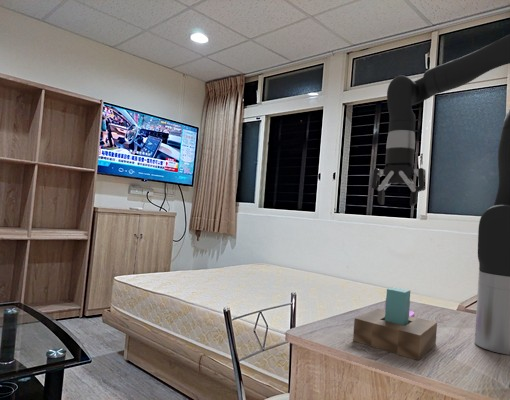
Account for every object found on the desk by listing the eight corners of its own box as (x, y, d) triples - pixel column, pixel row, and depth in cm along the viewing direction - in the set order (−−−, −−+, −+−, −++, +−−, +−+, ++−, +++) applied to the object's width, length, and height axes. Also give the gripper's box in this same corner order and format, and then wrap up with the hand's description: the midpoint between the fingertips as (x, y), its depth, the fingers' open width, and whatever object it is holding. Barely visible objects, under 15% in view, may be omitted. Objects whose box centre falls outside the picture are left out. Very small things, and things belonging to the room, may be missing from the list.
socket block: (435, 344, 85) (437, 322, 85) (418, 360, 74) (420, 335, 75) (376, 328, 94) (377, 308, 94) (353, 340, 83) (354, 318, 83)
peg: (407, 343, 85) (410, 290, 85) (401, 347, 81) (404, 292, 82) (389, 338, 87) (392, 287, 87) (383, 341, 84) (386, 289, 84)
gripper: (430, 149, 104) (426, 207, 103) (380, 151, 113) (376, 204, 112) (423, 144, 98) (419, 205, 97) (371, 147, 107) (367, 203, 106)
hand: (396, 205), depth 105 cm, fingers open, 8 cm apart
